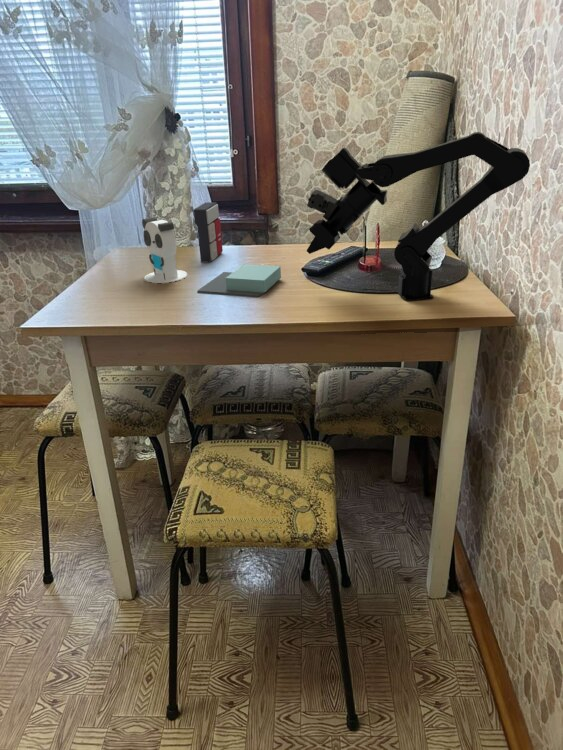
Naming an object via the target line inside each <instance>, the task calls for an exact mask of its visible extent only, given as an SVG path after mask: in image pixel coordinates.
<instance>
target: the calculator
mask: <svg viewBox="0 0 563 750" xmlns="http://www.w3.org/2000/svg"><path fill="white" fill-rule="evenodd" d="M219 213H220V211H219V204H218V202H214V201H212V202H211V201H210V202H208V201H207V202H203V204H200V205H199V206H197V207H195V208H194V209H193V219H194V224H195V225H196V227H197V236H198V245H199V246H198V247H199V248H198V249H199V256H200V262H201V263H212V262H213V261H214V260H216V259H217V257H219V255H221V253H223V238H222V228H221V219H220V218H219V217H220V214H219Z"/></svg>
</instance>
